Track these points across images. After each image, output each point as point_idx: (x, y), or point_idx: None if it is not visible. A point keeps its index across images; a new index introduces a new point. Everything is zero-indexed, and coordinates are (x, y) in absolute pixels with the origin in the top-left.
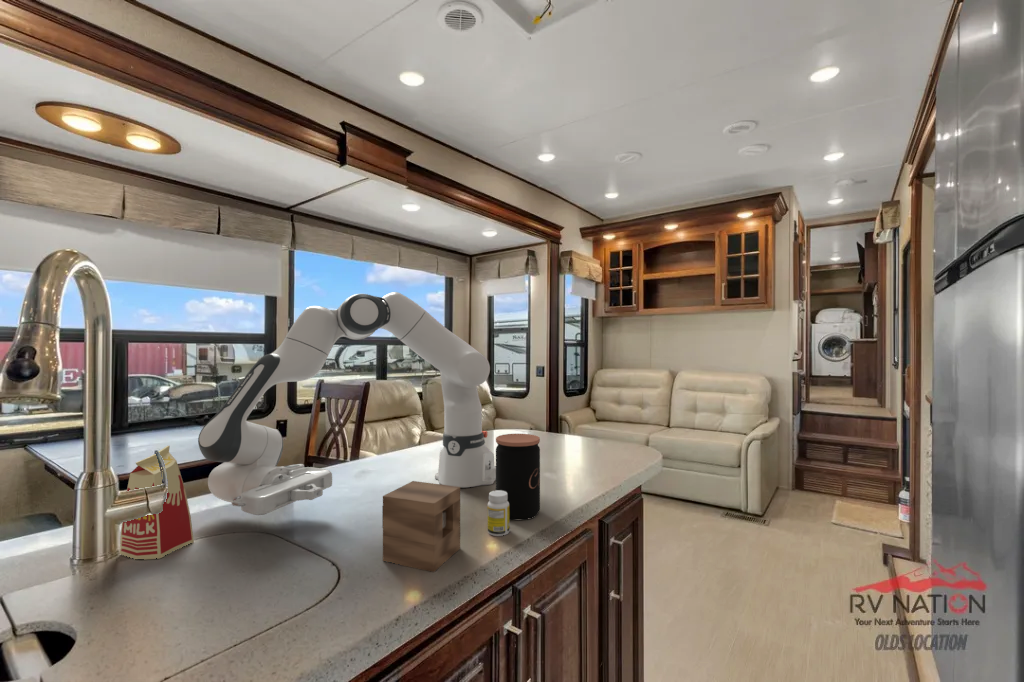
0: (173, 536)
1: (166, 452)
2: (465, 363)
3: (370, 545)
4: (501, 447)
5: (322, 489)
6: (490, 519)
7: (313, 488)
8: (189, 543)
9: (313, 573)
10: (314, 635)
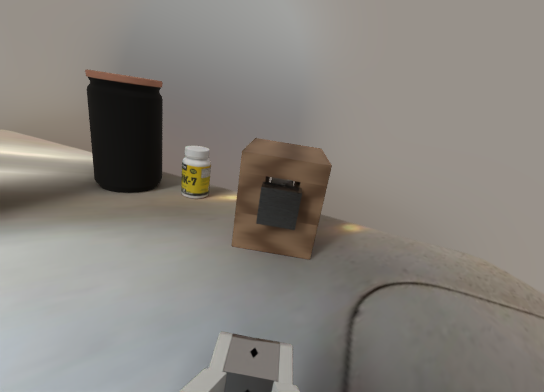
0: None
1: None
2: None
3: (267, 288)
4: (141, 90)
5: (222, 332)
6: (206, 179)
7: (238, 368)
8: None
9: (400, 326)
10: (458, 267)
